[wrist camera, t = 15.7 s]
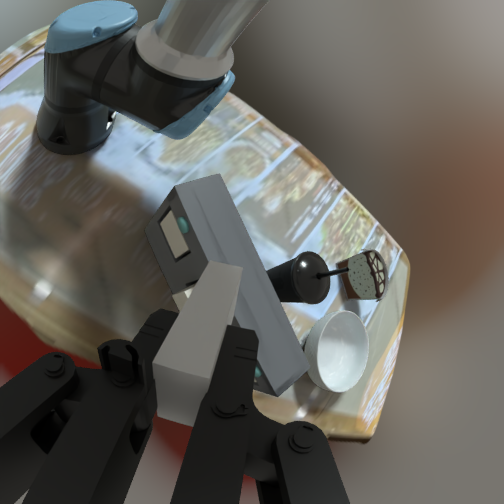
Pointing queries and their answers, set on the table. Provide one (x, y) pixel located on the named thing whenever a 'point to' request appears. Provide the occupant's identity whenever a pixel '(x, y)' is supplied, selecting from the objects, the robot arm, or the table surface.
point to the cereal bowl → (337, 351)
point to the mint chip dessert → (365, 276)
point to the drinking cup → (303, 279)
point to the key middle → (182, 296)
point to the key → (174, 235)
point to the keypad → (233, 253)
